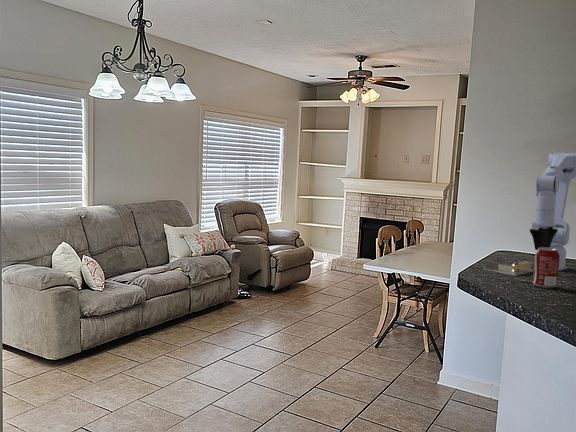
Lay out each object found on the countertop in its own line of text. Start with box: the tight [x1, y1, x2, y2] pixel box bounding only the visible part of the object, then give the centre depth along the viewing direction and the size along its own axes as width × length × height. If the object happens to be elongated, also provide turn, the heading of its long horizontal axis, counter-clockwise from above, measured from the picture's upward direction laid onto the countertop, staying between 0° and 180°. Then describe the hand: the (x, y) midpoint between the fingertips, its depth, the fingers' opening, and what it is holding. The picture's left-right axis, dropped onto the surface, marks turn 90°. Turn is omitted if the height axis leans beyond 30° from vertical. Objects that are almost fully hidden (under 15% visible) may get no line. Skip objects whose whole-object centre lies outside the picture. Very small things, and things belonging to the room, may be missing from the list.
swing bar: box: [511, 260, 532, 272], centre depth 179 cm, size 11×2×3 cm, turn 131°
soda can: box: [532, 247, 560, 289], centre depth 158 cm, size 7×7×12 cm
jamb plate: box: [482, 264, 534, 277], centre depth 182 cm, size 13×12×1 cm
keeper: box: [485, 261, 510, 272], centre depth 181 cm, size 4×7×2 cm, turn 41°
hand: (542, 249), depth 176 cm, fingers open, 5 cm apart
